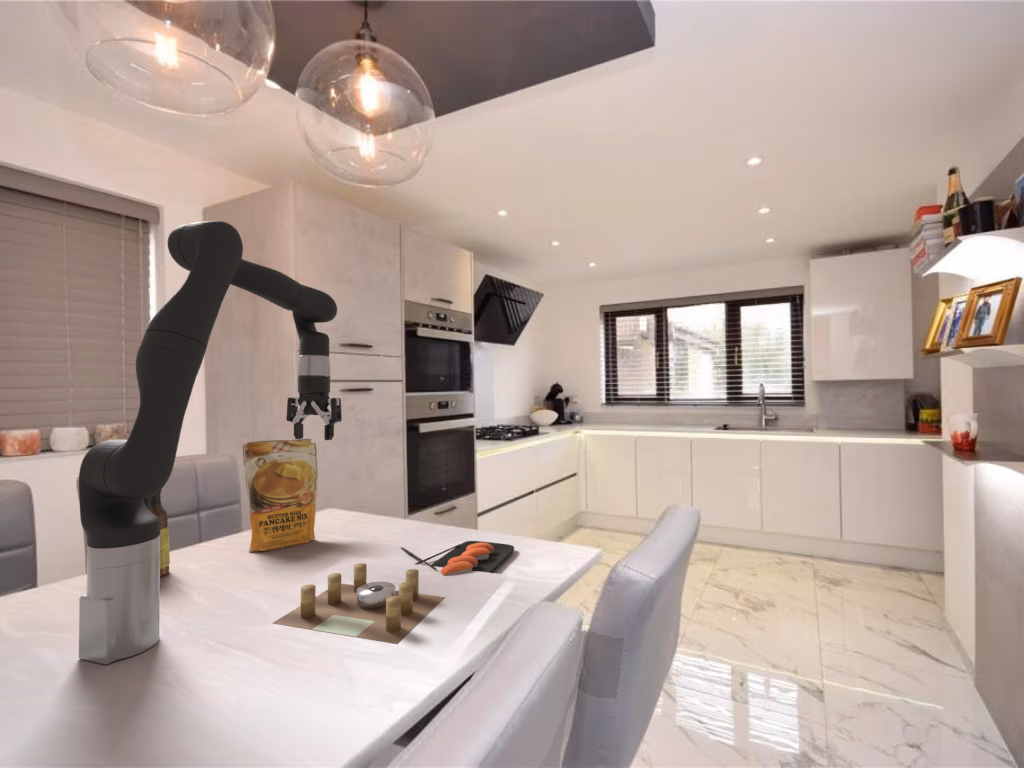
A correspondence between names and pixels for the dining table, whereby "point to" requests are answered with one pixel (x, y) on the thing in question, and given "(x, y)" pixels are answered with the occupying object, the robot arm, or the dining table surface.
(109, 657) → the robot arm
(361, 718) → the dining table surface
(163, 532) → the sauce bottle
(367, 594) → the pot lid
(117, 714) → the dining table surface
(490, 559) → the sushi plate
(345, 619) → the board
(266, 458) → the pancake mix bag
